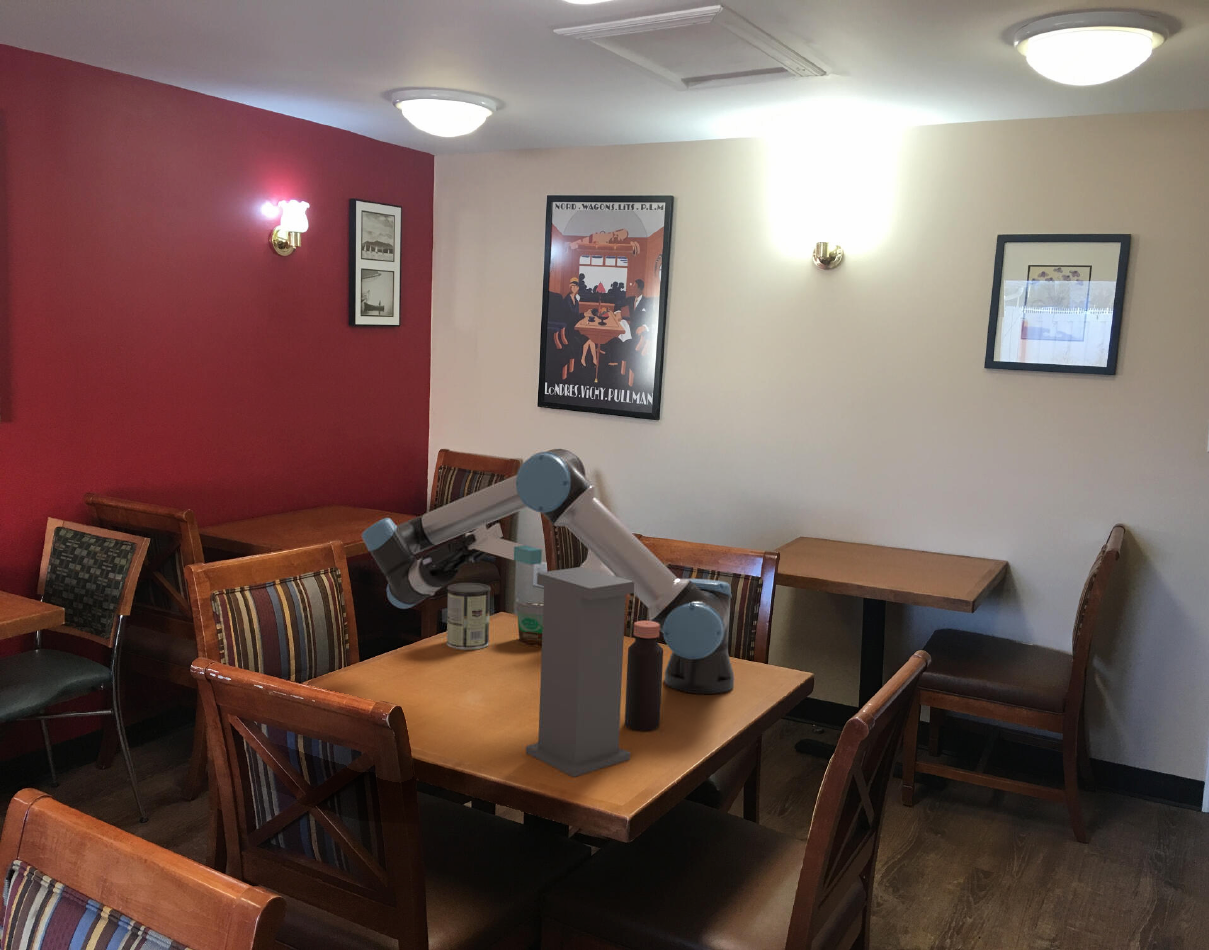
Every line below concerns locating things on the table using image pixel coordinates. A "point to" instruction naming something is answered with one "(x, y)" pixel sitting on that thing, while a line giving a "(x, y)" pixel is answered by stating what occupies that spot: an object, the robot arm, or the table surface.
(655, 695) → the bottle
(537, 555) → the beige teal square bar
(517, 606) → the food container
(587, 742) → the shelf stand
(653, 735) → the table surface
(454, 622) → the coffee can
